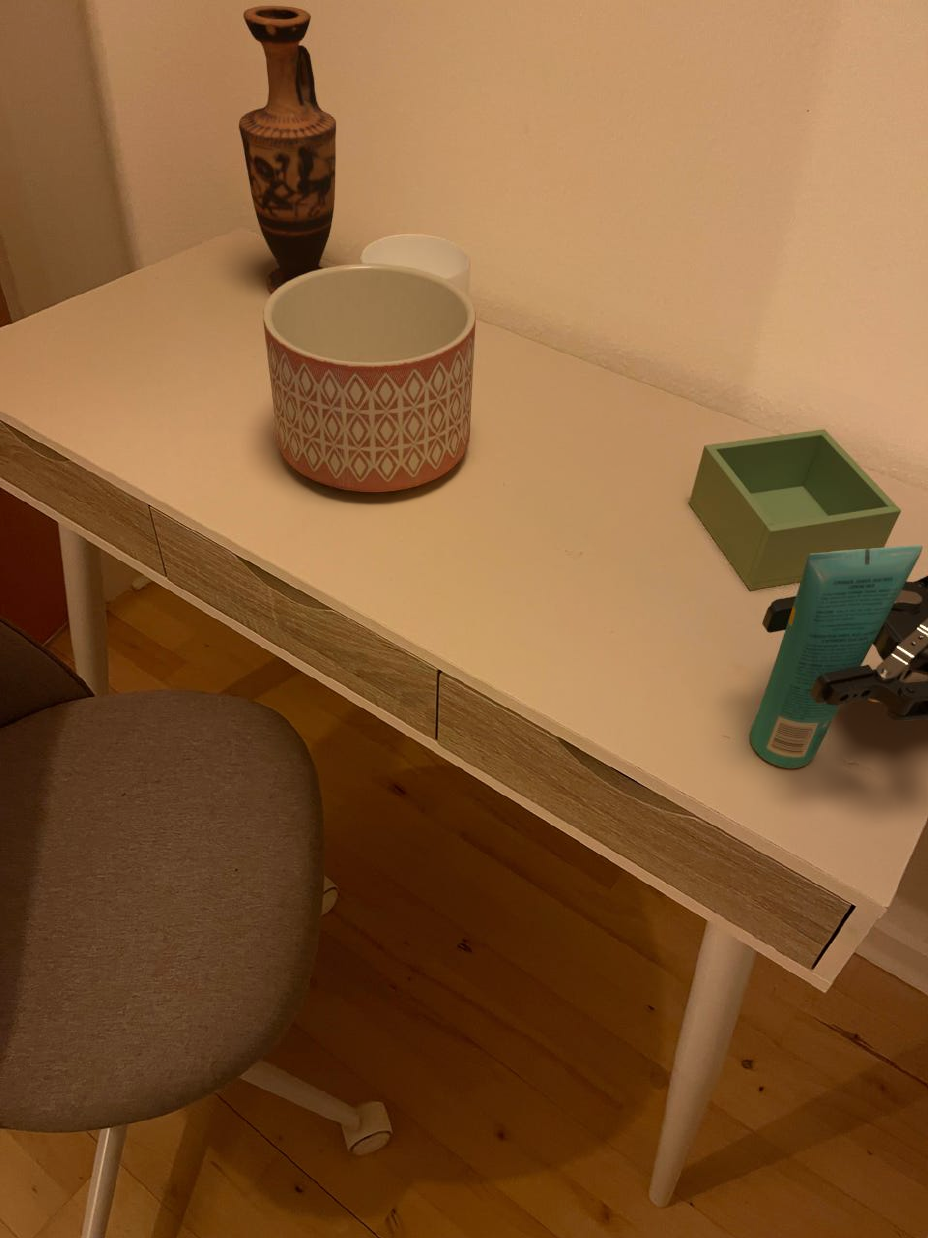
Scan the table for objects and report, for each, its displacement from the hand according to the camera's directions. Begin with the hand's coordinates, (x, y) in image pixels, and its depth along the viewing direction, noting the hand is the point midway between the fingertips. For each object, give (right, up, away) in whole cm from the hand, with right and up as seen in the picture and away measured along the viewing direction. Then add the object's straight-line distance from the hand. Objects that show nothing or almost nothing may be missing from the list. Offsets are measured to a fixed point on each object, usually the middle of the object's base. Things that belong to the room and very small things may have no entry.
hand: (791, 653), depth 63 cm
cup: (-28, +32, +45) cm, 62 cm away
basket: (+8, +10, +25) cm, 28 cm away
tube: (+2, -7, +8) cm, 11 cm away
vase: (-43, +44, +57) cm, 84 cm away
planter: (-31, +20, +33) cm, 49 cm away
